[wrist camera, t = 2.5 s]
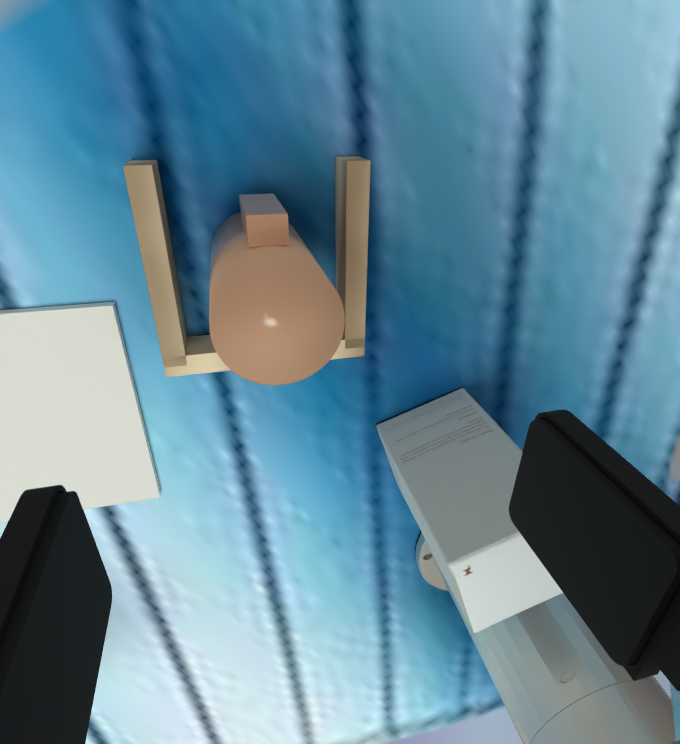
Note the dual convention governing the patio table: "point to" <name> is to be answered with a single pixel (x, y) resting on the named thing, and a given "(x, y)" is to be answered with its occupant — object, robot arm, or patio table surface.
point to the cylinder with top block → (270, 297)
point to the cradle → (162, 277)
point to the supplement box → (467, 505)
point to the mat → (70, 408)
